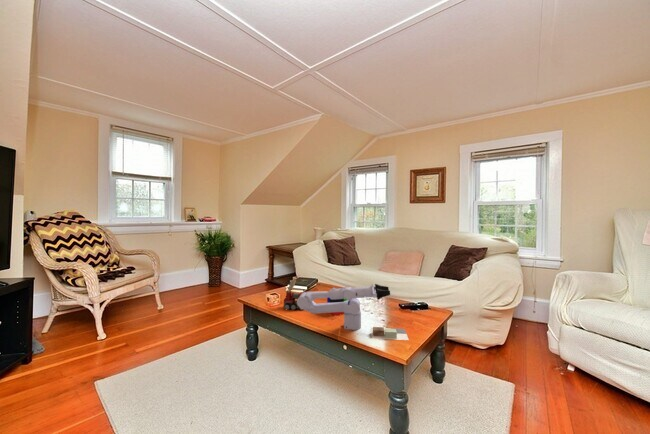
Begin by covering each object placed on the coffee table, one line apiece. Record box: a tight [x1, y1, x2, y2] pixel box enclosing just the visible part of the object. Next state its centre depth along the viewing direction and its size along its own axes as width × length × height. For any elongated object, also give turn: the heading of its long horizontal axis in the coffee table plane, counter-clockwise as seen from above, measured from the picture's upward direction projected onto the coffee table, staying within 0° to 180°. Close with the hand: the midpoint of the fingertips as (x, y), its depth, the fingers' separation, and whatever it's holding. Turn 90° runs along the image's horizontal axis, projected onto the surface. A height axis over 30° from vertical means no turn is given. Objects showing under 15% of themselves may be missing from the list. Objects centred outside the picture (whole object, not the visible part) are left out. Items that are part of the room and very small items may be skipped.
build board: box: [370, 327, 410, 341], centre depth 143 cm, size 18×13×1 cm
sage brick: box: [385, 328, 397, 338], centre depth 140 cm, size 6×4×3 cm
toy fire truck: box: [283, 279, 304, 311], centre depth 187 cm, size 11×16×18 cm
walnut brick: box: [372, 326, 385, 336], centre depth 142 cm, size 6×4×3 cm
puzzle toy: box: [326, 298, 347, 316], centre depth 177 cm, size 10×10×10 cm
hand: (389, 290), depth 149 cm, fingers open, 7 cm apart
